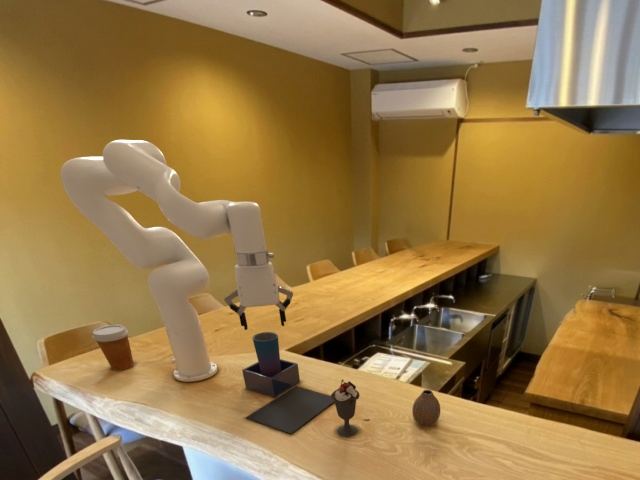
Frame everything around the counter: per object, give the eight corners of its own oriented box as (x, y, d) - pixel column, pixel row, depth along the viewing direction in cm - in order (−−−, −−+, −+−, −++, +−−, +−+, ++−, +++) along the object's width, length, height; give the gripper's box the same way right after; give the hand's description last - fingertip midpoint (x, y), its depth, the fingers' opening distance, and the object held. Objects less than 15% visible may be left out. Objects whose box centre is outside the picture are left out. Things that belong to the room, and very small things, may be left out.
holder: (245, 388, 121) (241, 369, 118) (272, 374, 129) (269, 356, 126) (274, 397, 117) (271, 378, 113) (300, 382, 125) (297, 363, 121)
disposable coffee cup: (120, 374, 129) (106, 337, 123) (98, 369, 132) (83, 332, 126) (146, 362, 137) (133, 326, 130) (124, 358, 140) (111, 322, 133)
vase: (442, 418, 108) (444, 387, 103) (435, 432, 102) (438, 400, 97) (416, 413, 109) (417, 383, 105) (408, 427, 104) (409, 396, 99)
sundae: (340, 441, 99) (335, 385, 90) (329, 428, 104) (324, 372, 95) (365, 434, 101) (363, 378, 93) (354, 421, 106) (351, 367, 98)
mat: (245, 418, 108) (245, 417, 107) (296, 387, 122) (296, 385, 122) (291, 434, 101) (290, 433, 101) (338, 399, 116) (338, 398, 116)
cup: (279, 391, 120) (271, 341, 111) (257, 389, 121) (247, 340, 112) (288, 381, 125) (281, 332, 117) (267, 379, 126) (259, 331, 118)
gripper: (286, 253, 108) (295, 318, 118) (216, 258, 105) (231, 325, 114) (289, 259, 102) (298, 327, 112) (214, 264, 99) (230, 334, 108)
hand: (264, 326), depth 113 cm, fingers open, 9 cm apart
